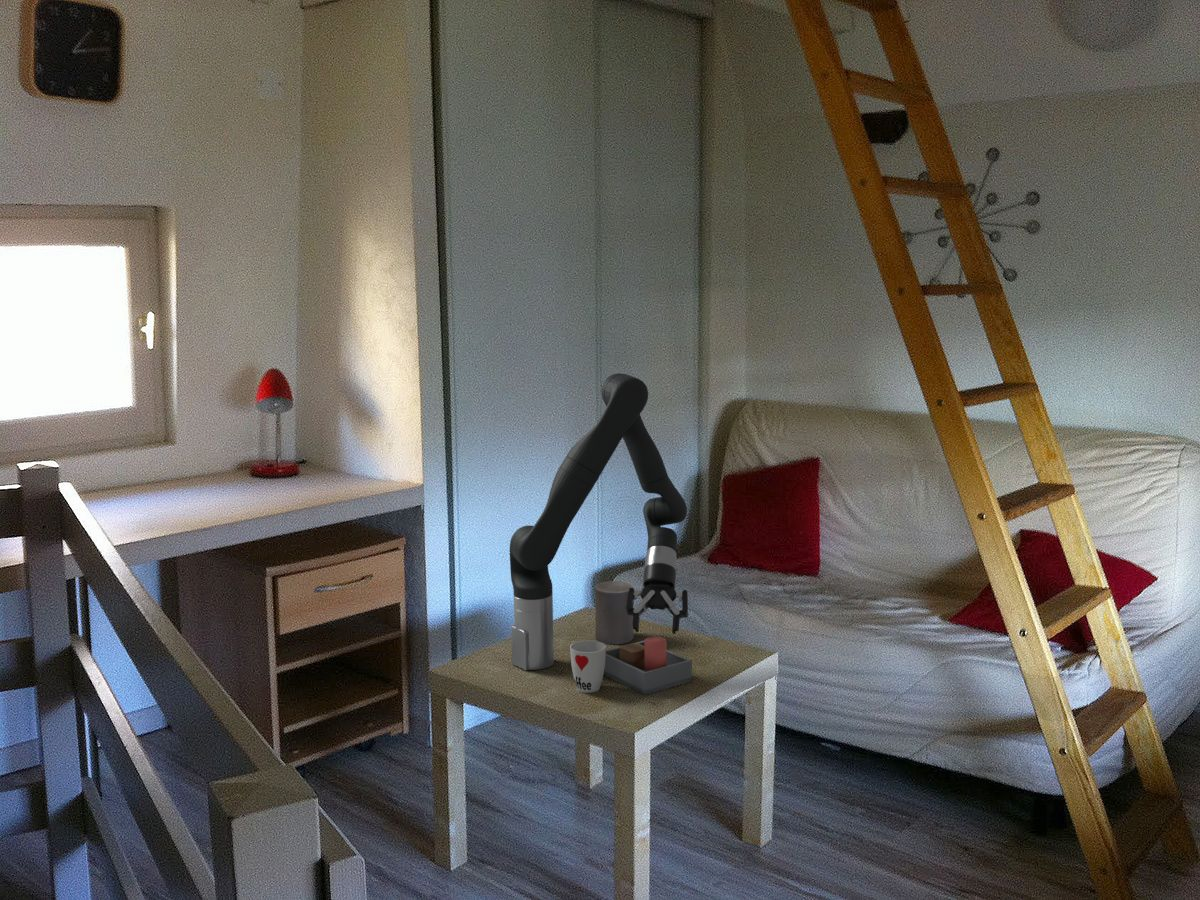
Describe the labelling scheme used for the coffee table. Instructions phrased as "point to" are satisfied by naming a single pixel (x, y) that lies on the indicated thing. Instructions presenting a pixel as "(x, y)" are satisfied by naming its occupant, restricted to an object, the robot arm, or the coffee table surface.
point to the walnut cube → (633, 655)
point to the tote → (648, 672)
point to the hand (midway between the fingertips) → (655, 631)
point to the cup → (588, 664)
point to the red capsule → (655, 653)
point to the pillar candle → (613, 613)
